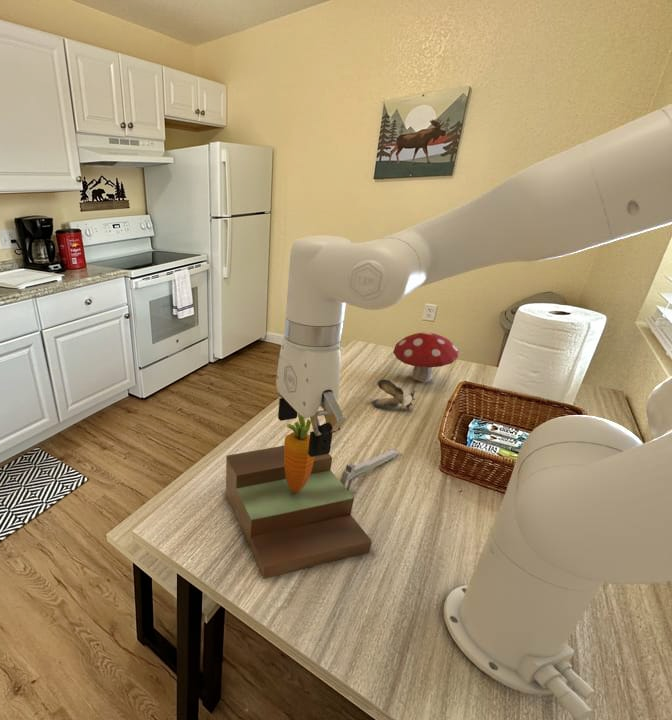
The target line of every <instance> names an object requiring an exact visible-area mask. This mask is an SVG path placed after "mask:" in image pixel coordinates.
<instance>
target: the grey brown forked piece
mask: <svg viewBox="0 0 672 720" xmlns="http://www.w3.org/2000/svg"><path fill="white" fill-rule="evenodd" d="M376 384H377V386H378V388H379V389H380V390H382V391H383V392H385V393H386V394H388V395H390V396H392V397H390V398H389V397H388V398H387V397H386V398H380V399H379V398H378V399H374V400H372V401H371V404H372V405H373V406H374V407H376V408H385V407H388V408H389V407H390V408H395V407H398V406H399V405H403V407H406V410H408V411H410V408H411V406H413V401H414V400H416V398H415V393H416V391H417V389H413V391H411V392H410V394H406V395H405V391H404V390H403V389H402V388H401V387H399V386H397V385H396V384H395V383H393V382H392V380H390V379H383V378H382V379H379V380H378V381H377V382H376Z"/></svg>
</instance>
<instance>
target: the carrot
mask: <svg viewBox="0 0 672 720" xmlns="http://www.w3.org/2000/svg"><path fill="white" fill-rule="evenodd" d="M297 419H298V421H295V422H294V425H293V424H291V423H287V425H286V427H287V428H288V429H290V430H292V432H291V433H289V434H287V435H286V436H284V445H283V446H284V466H285V475H286V481H287V484H288V486H289V488H290V490H291V492H293V493H294V494H296V493H298V492H299V491H300V490H301V489H302V488H303V487H304V485H305V484H306V483H307V481H308V478H309V476H310V474H311V471H312V468H313V463H314V458H315V456H314V457H310V456H309V455H308V447H309V439H310V433H309V431H310V428H311V426H312V423H311V419H310V418H307V420H306V418H304V417H302V416H301V415H300V414H299V413H297ZM308 433H309V434H308Z"/></svg>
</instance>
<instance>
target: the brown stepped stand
mask: <svg viewBox="0 0 672 720" xmlns="http://www.w3.org/2000/svg"><path fill="white" fill-rule="evenodd" d="M225 462H226V463H225V495H226V498H227V500H228V502H229V504H230V506H231V509H232V511H233V514H234V515H235V518H236V521H237V522H238V524H239V527H240V529H241V531H242V534H243V536H244V538H245V540H246V542H247V545H248V547H249V549H250V552H251V554H252V556H253V558H254V560H255V563H256V565H257V567H258V569H259V572H260V574H261V576H262V578H263V579H267V578H271V577H276V576H279V575H284V574H288V573H292V572H297V571H299V570H304V569H308V568H312V567H315V566H319V565H324V564H327V563H333V562H337V561H341V560H344V559H348V558H352V557H356V556H360V555H365V554H368V553H370V552H371V548H372V543H373V541H372V539H371V538H370V537H369V535H368V534H367V533H366V532H365V529H363V527H361V525H360V524H359V523H358V522H357V520H356V519H355V518H354V516H353V515H352V510H353V505H354V500H355V497H354V496H353V494H352V493H351V491H348V490H347V489H346V488H345V486H344V485H343V484H342V483H341V482H340V479H339V478H338V477H337V476H336V475H335V474H334V472H333V471H332V470H331V468H332V463H333V457H332V456H331V454H330V452H329V453H328V454H325V455H320V456H315V458H314V463H313V468H312V471H311V474H310V476H309V478H308V481H307V483H306V484H305V485H304V487H303V488H302V489H301V490H300V491H299V492H298V493H296V494H294V493H293V492H291V490H290V488H289V486H288V484H287V481H286V475H285V466H284V445H280V446H274V447H268V448H261V449H257V450H250V451H245V452H239V453H234V454H233V453H232V454H228V455H226V461H225Z"/></svg>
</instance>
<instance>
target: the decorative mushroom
mask: <svg viewBox="0 0 672 720" xmlns="http://www.w3.org/2000/svg"><path fill="white" fill-rule="evenodd" d="M392 353H393V355H394V356H395V358H396V359H397V360H398V361H400V362H402V363H403V364H405V365H409V366H411V367H413V370H412V373H411V378H412V379H414V380H415V381H418V382H421V383H426V382H427V383H428V382H429V381H432V377H433V372H434V369H433V368H438V367H444V366H448V365H450V364H453V363H454V362H455V361H456V360H457V359H458V358H459V353H460V352H459V349H458V348H457V346H455V344H454V343H453V342H452V341H451V340H450V339H449V338H447V337H445V336H443V335H441V334H437V333H433V332H416V333H413V334H411V335H408V336H405V337H404V338H402V339H401V340H399V341H398V342H397V343H395V345H394V349H393V352H392Z"/></svg>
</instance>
